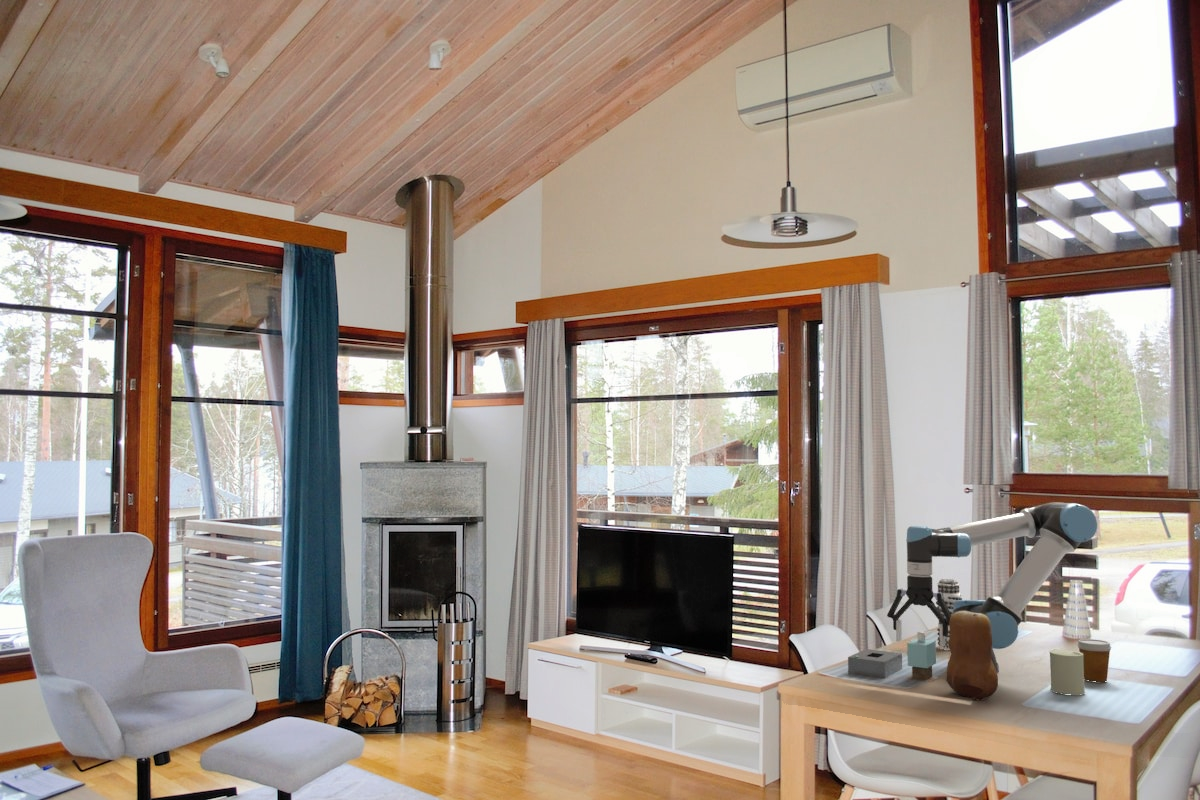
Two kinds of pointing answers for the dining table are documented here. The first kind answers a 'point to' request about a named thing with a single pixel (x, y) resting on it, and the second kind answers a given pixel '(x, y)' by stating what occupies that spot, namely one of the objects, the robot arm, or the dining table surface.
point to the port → (875, 663)
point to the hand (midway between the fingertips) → (920, 643)
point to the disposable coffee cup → (1095, 659)
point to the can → (1067, 672)
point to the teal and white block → (921, 652)
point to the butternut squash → (971, 656)
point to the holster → (922, 674)
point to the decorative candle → (947, 603)
